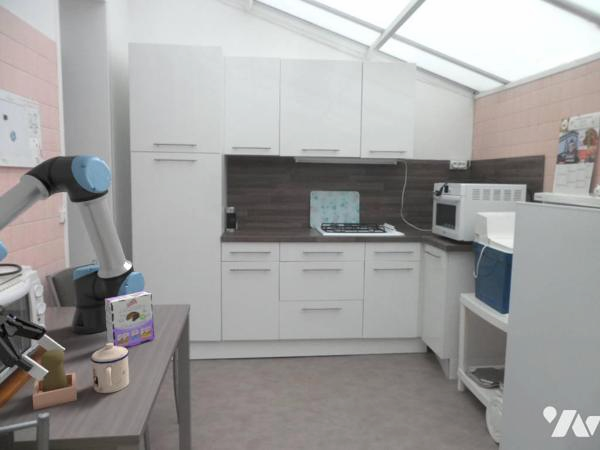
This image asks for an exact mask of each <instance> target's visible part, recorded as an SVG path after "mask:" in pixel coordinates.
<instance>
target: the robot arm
mask: <svg viewBox="0 0 600 450" xmlns="http://www.w3.org/2000/svg"><path fill="white" fill-rule="evenodd" d="M112 179H113V178H112V172H111V170H110V167H109V165H108V164H107V163H106V162H105V161H104V160H103V159H102V158H100V157H98V156H95V155H87V154H81V155H78V154H77V155H65V156H64V155H58V156H54V157H51V158H48V159H46V160H44V161H42V162H40V163H39V164H37V165H35V166H33V167H32V168H31V169H29V170H28V171H27V172H25V173H24V174H23V175H22V176H20V178H19V182H18V183H16V184H15V185H14V186H12V187H11V188H10V189H8V190H7V191H6V192H5V193H3V194H2V195H0V233H1V232H2V231H3V230H4V229H6V228H7V227H8V226H9V225H11V224H12V223H14V221H16V220H17V219H18V218H19V217H21V216H22V215H23V214H25V213H26V212H27V211H28V210H29V209H31V208H32V207H33V206H34V205H36V204H37V203H38V202H39V201H46V200H48V199H49V198H50V197H51V196H53V195H56V194H59V193H67V194H68V198H69V201H70V203H72V204H74V205H77V207H78V210H79V212H80V215H81V218H82V220H83V223H84V226H85V229H86V232H87V234H88V237H89V240H90V242H91V245H92V248H93V251H94V254H95V258H96V259H97V262H98V264H91V265H87V266H82V267H78V268H77V269H75V270H74V271H73V273H72V275H73V277H72V279H73V280H72V282H73V293H74V305H75V307H74V308H75V309H74V313H73V317H72V321H71V331H72V332H73V333H75V334H82V335H84V334H96V333H100V332H105V331H107V327H106V311H105V299H108V298H113V297H118V296H123V295H127V294H132V293H137V292H142V291H145V290H144V289H145V283H146V280H145V276H144V274H143V273H142V272H139V271H136V270H135V268H134V265H133V263H132V261H130V260H128V259H126V256H125V253H124V250H123V246H122V243H121V240H120V238H119V235H118V232H117V230H116V229H117V228H116V226H115V223H114V222H115V221H114V220H113V217H112V213H111V210H110V208H109V204H108V201H107V197H108V195H109V188H110V187H111V184H112V182H111V181H112ZM7 256H8V248H7V246H6V245H5V244H4V242H3V241H1V240H0V263H1V262H2V261H3V260H4V259H5V258H6V257H7ZM5 311H6V308H5V307H4V306H3V305H1V304H0V362H1V363H2V364H3V365H4V367H6V368H9V369H13V368H14V367H15V366H16V367H17V368H19V369H21V370H22V371H24V373H27V374H28V375H30V376H31V377H32V378H34V379H35V380H38V381H40V380H41V379H43V377H44V376H45V375H46V374H47V373H48V372H49V371H48V370H46V369H45V368H44V366H43V365H42V364H39V363H38V362H36V361H35V360H34V359H32V358H31V357H29V356H27V355H26V354H25V355H23V354H22V352H21V351H20V349H19V347H18V346H17V343H16V342H15V341H14V338H13V337H15V336H18V337H22V338H26V339H29V340H33V341H36V344H37V345H38V346H40V347H41V348H43V349H44V350H46V352H47V351H50V350H55V349H59V350H62V351H63V352H64V351H65V350H66V348H65V347H63V346H62V345H61V344H59V343H58V342H57V341H55V340H54V339H53V338H52V337H50V336H48V335H47V334H46V333H47V332H48V329H46V328H45V327H44V326H41V325H39V324H37V323H35V322H32V321H29V320H28V319H25V318H23V317H22V316H21V317H20V316H19V315H17V314H16V313H14V312H12V311H10V312H9V313H8V315H4V313H5Z"/></svg>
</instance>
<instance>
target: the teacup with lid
mask: <svg viewBox="0 0 600 450" xmlns="http://www.w3.org/2000/svg"><path fill="white" fill-rule="evenodd" d="M90 360H91V363H92V378H93V389H94V391H95V392H97V393H99V394H112V393H116V392H118V391H121V390H123V389H125V388H126V387H127V386H128V385H129V384H130V372H129V371H130V370H129V351H128V348H124V347H118V346H114V344H113V343H108V342H107V343H106V344H105V346H104V347H102V348H100V349H98V350H96V351H95V352H94V353H93V354H92V355H91V358H90Z"/></svg>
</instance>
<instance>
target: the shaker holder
mask: <svg viewBox="0 0 600 450" xmlns="http://www.w3.org/2000/svg"><path fill="white" fill-rule="evenodd" d="M65 375H66V379H67V383H68V387H67V388H62V389H57V390H53V391H48V392H43V393H42V389H43V378H42V379H41V380H40V381H38V380H37V379H35V380H34V385H33V392H32V404H33V411H35V410H39V409H40V410H41V409H43V408H49V407H53V406H57V405H61V404H65V403H71V402H74V401H78V400H77V399H78V397H77V396H78V395H77V393H78V392H77V378H76V377H77V376H76V372H71V373H65Z"/></svg>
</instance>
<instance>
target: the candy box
mask: <svg viewBox="0 0 600 450" xmlns="http://www.w3.org/2000/svg"><path fill="white" fill-rule="evenodd" d="M105 311H106V327H107V330H106V337H107V339H106V340H107V341H106V342H107V343H113V344H114V346H118V347H124V348H126V349H128V348H130V347H134V346H137V345H140V344H143V343H146V342H150V341H153V340H155V324H154V312H153V311H154V310H153V295H152V293H150V292H148V291H146V290H143V291H142V292H137V293H132V294H127V295H123V296H118V297H113V298H108V299H105Z"/></svg>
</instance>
